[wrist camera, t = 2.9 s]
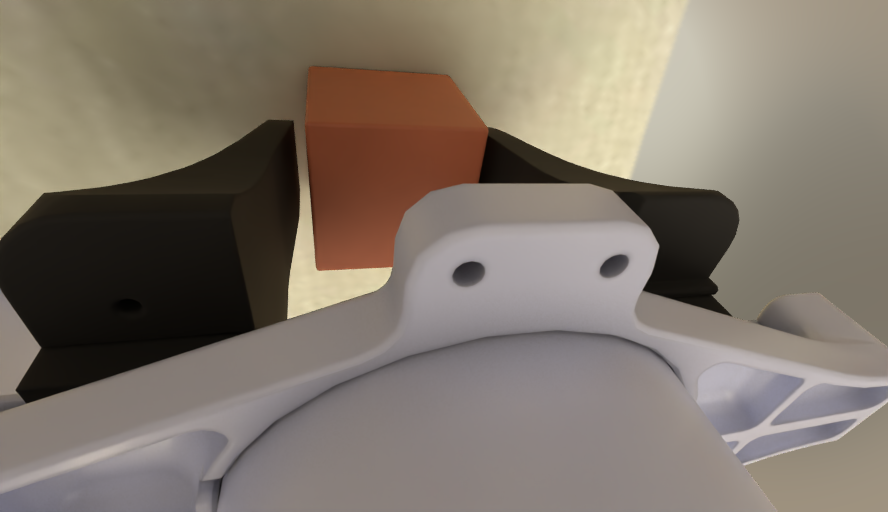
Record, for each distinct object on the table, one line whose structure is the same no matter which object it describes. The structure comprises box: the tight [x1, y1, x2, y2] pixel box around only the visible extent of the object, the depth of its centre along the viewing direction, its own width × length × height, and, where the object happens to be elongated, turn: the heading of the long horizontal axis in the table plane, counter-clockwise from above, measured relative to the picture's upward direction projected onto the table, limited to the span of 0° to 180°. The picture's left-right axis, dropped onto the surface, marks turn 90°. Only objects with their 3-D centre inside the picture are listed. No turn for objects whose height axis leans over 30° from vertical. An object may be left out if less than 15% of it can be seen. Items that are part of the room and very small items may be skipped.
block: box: [305, 66, 489, 271], centre depth 12 cm, size 4×4×4 cm
